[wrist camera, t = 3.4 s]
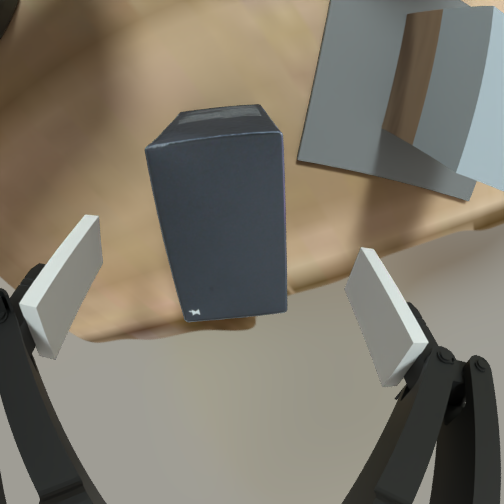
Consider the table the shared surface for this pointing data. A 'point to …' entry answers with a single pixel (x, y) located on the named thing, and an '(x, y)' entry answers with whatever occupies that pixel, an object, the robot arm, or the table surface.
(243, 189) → the small box
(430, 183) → the mat
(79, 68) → the table surface
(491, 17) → the block top
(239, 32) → the table surface
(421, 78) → the block bottom
